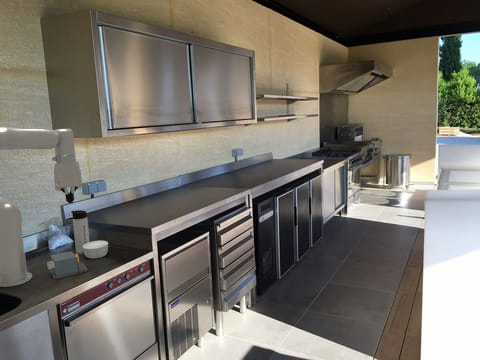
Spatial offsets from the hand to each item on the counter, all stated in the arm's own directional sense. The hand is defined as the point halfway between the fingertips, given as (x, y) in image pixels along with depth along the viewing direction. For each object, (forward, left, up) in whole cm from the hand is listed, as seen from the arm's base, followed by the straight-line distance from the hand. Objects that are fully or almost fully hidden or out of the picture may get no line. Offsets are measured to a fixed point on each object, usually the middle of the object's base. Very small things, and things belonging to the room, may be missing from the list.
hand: (70, 202), depth 173 cm
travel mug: (+6, +15, -27) cm, 32 cm away
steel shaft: (-6, -7, -25) cm, 27 cm away
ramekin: (+10, +7, -27) cm, 30 cm away
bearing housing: (-4, -7, -27) cm, 28 cm away
